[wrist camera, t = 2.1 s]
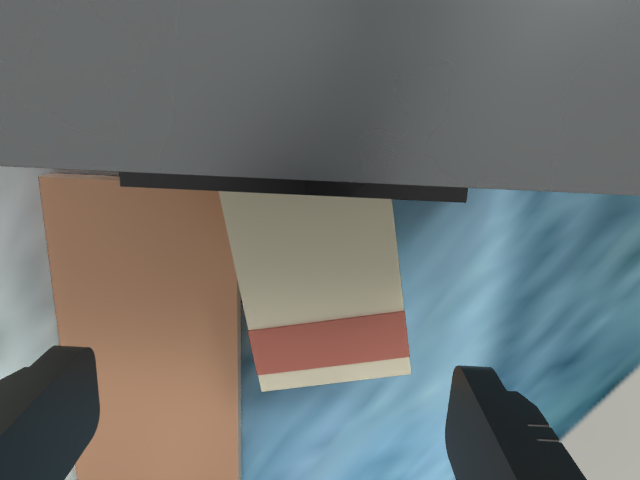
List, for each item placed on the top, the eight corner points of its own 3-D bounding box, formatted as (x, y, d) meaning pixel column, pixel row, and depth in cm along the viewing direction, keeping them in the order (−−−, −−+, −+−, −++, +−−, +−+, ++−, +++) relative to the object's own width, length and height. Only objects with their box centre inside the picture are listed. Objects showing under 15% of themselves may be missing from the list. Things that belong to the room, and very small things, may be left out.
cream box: (212, 21, 17) (176, 0, 13) (358, -3, 16) (367, -33, 12) (274, 334, 20) (261, 393, 16) (395, 318, 20) (411, 375, 16)
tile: (50, 172, 18) (38, 176, 17) (240, 181, 18) (235, 185, 17) (87, 480, 22) (79, 494, 21) (241, 488, 22) (238, 502, 21)
